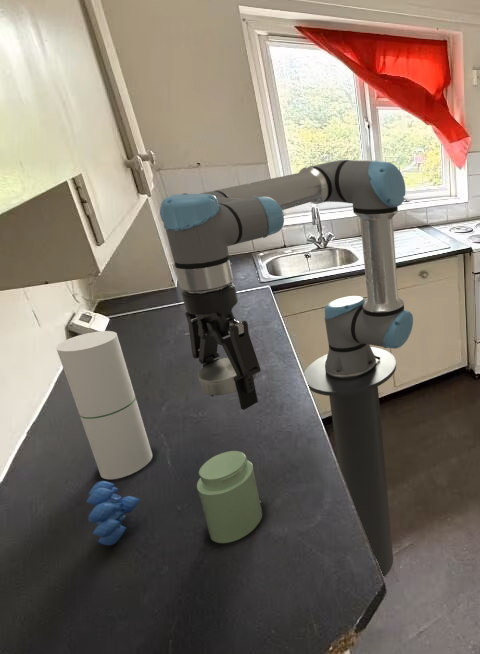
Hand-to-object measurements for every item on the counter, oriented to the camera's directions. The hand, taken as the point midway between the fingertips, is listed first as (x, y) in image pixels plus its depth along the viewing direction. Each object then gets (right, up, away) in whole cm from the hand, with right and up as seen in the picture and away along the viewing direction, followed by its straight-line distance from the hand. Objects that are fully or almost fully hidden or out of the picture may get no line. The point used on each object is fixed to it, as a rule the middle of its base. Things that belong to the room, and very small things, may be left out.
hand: (233, 398), depth 79 cm
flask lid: (0, +6, -2) cm, 6 cm away
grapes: (-18, -24, -3) cm, 30 cm away
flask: (+1, -23, -1) cm, 23 cm away
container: (-32, -18, +13) cm, 39 cm away
